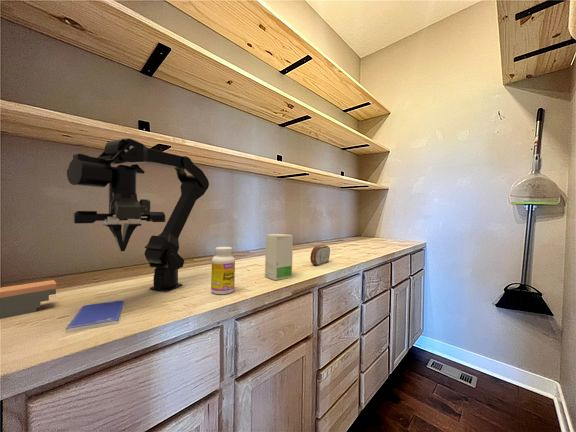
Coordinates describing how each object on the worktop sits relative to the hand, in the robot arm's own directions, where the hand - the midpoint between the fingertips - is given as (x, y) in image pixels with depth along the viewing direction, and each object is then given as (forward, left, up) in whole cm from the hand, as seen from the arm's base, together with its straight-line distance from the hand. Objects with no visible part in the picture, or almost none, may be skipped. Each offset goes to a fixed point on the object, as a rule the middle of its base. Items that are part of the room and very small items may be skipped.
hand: (122, 251), depth 61 cm
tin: (-63, +43, -13) cm, 77 cm away
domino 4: (+9, -15, -13) cm, 22 cm away
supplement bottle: (-15, +20, -13) cm, 28 cm away
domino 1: (+6, -14, -8) cm, 17 cm away
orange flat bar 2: (+6, -13, -9) cm, 17 cm away
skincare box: (-35, +31, -13) cm, 49 cm away
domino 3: (+8, -15, -12) cm, 20 cm away
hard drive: (+8, +3, -14) cm, 16 cm away
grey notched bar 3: (+7, -14, -10) cm, 19 cm away
